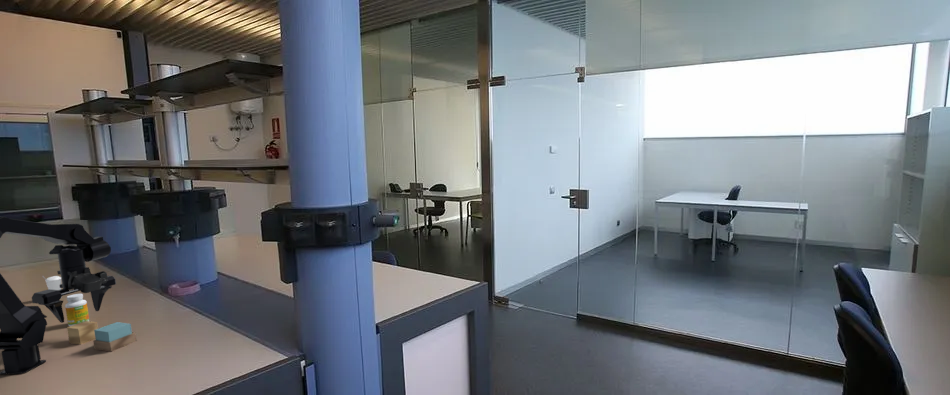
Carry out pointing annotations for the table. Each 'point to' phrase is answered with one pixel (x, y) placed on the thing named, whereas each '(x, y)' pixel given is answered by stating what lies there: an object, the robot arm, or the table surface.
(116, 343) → the tower base block
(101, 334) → the tower top block
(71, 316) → the supplement bottle
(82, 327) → the oak cube
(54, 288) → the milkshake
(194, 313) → the table surface
